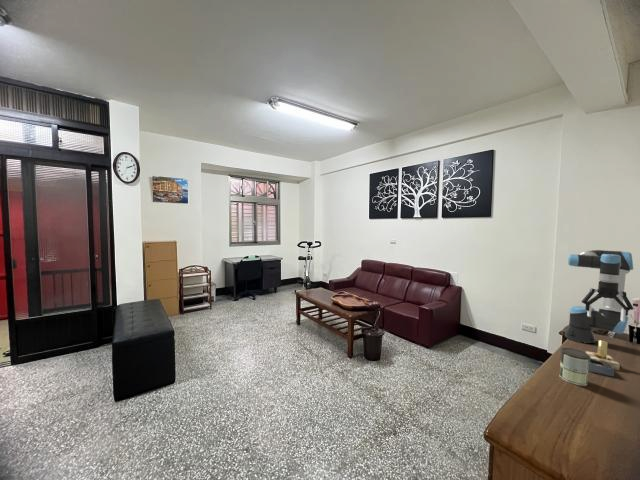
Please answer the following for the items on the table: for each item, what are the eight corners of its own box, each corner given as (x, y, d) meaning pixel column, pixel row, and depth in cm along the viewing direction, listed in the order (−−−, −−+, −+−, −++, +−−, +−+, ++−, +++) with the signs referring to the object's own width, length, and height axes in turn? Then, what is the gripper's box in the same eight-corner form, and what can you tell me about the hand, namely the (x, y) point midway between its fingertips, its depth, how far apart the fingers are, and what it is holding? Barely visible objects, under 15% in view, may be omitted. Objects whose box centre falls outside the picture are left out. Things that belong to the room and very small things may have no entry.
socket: (580, 363, 148) (580, 356, 148) (604, 368, 144) (605, 361, 143) (587, 371, 140) (587, 363, 140) (613, 376, 135) (614, 369, 135)
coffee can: (553, 373, 136) (555, 346, 136) (575, 375, 135) (577, 348, 135) (570, 384, 126) (572, 356, 125) (593, 387, 125) (596, 358, 124)
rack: (585, 356, 157) (585, 350, 157) (608, 361, 152) (609, 355, 152) (593, 365, 146) (594, 359, 146) (619, 370, 142) (619, 364, 141)
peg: (595, 361, 152) (597, 339, 151) (604, 362, 150) (606, 340, 149) (598, 363, 149) (600, 341, 148) (607, 365, 147) (609, 342, 146)
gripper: (581, 279, 150) (578, 316, 151) (645, 285, 138) (641, 325, 139) (576, 277, 157) (573, 312, 158) (637, 283, 144) (633, 321, 145)
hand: (605, 318), depth 148 cm, fingers open, 13 cm apart
